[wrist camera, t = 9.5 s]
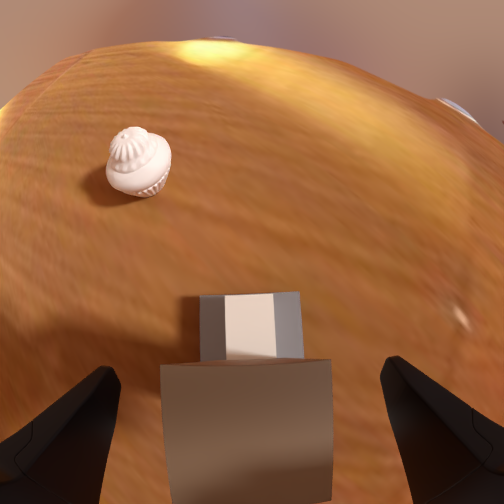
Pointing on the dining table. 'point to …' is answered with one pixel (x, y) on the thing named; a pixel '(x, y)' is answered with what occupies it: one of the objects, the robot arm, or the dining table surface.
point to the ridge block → (250, 326)
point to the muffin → (138, 162)
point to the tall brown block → (248, 431)
